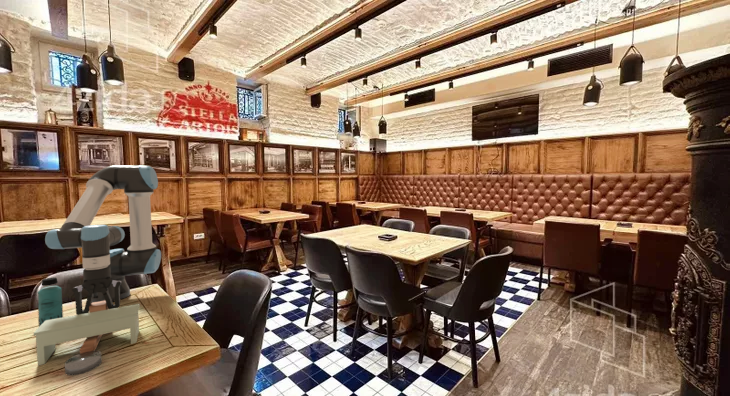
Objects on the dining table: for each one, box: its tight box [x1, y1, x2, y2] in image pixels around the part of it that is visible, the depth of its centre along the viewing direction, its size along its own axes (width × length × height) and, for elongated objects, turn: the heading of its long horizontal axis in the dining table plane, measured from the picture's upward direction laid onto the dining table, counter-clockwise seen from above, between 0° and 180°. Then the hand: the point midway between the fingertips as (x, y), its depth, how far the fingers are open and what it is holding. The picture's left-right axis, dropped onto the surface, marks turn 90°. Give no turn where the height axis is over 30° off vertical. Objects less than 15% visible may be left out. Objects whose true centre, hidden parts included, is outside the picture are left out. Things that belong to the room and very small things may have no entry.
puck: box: [64, 350, 103, 376], centre depth 90 cm, size 8×8×3 cm
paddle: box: [79, 301, 108, 354], centre depth 103 cm, size 22×4×10 cm, turn 33°
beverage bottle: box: [37, 277, 64, 328], centre depth 113 cm, size 6×7×20 cm
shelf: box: [32, 303, 141, 366], centre depth 101 cm, size 10×25×10 cm, turn 123°
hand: (99, 329), depth 110 cm, fingers closed on paddle, 4 cm apart
